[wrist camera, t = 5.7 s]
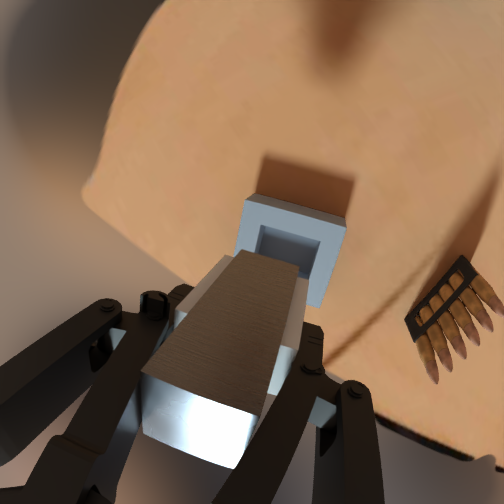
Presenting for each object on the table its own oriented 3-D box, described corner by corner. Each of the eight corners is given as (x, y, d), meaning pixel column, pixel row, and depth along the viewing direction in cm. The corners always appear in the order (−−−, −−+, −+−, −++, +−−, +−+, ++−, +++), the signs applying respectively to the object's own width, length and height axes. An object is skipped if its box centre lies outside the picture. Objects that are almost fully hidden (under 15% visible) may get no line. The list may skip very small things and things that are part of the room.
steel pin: (241, 248, 18) (140, 370, 8) (299, 266, 17) (260, 416, 7) (230, 299, 19) (143, 433, 9) (283, 316, 19) (235, 469, 8)
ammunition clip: (461, 254, 29) (508, 303, 18) (470, 263, 29) (516, 314, 18) (403, 319, 33) (423, 386, 22) (413, 326, 33) (434, 393, 22)
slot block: (254, 193, 33) (245, 199, 29) (344, 218, 31) (346, 227, 27) (239, 266, 36) (228, 281, 32) (321, 291, 35) (319, 308, 31)
